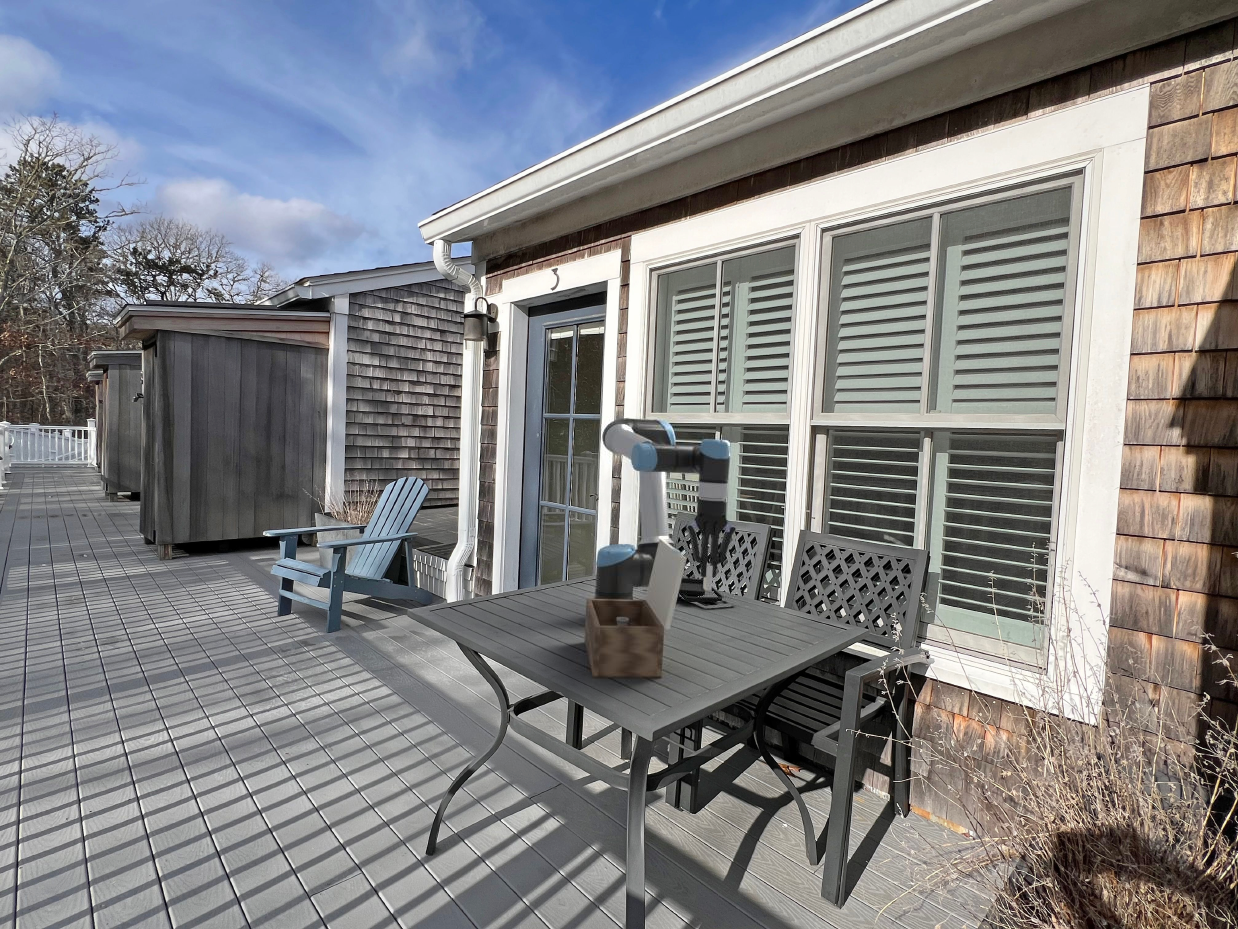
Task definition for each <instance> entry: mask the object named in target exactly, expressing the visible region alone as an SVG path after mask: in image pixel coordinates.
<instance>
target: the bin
mask: <svg viewBox="0 0 1238 929" xmlns="http://www.w3.org/2000/svg"><path fill="white" fill-rule="evenodd" d="M585 605H586V606H585V608H586V609H585V624H584V625H585V626H584V627H585V628H584V645H585V650H586V654H587V658H588V663H589V666H590V671H591V675H592V678H594V679H595V678H597V679H599V678H602V679H603V678H605V679H606V678H608V679H609V678H610V679H611V678H612V679H614V678H615V679H616V678H617V679H618V678H620V679H623V678H624V679H625V678H626V679H627V678H628V679H629V678H630V679H631V678H633V679H635V678H636V679H646V678H647V679H654V678H655V679H662V676H663V675H662V674H663V661H664V660H663V658H664V643H665V642H664V639H665V638H664V636H665V628H664V627H663V625H662V624H661V622H660V621H659V619H658V618H657V616H656V615H655V613H654V612H653V610H652V609H651V607H650V606H649V604H648V603H647V601H646V600H645V599H633V600H618V599H594V598H587V599H586V604H585ZM617 617H626V618H628V619H629V621H628V622H627V626H617V621H616V618H617Z"/></svg>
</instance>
